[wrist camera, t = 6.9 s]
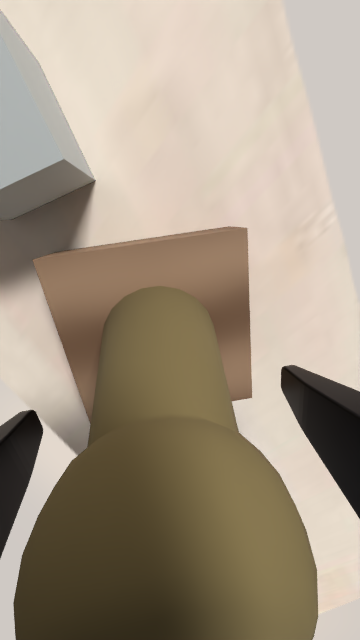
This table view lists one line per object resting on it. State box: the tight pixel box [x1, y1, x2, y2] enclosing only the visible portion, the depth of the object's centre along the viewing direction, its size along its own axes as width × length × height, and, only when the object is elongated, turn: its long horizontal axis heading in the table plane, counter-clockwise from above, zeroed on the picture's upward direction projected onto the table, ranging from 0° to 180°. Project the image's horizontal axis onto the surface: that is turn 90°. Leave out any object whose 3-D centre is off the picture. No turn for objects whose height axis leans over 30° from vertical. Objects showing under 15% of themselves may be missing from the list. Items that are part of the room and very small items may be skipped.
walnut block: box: [33, 227, 252, 424], centre depth 15 cm, size 10×10×3 cm
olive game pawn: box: [14, 286, 318, 640], centre depth 8 cm, size 6×6×11 cm
